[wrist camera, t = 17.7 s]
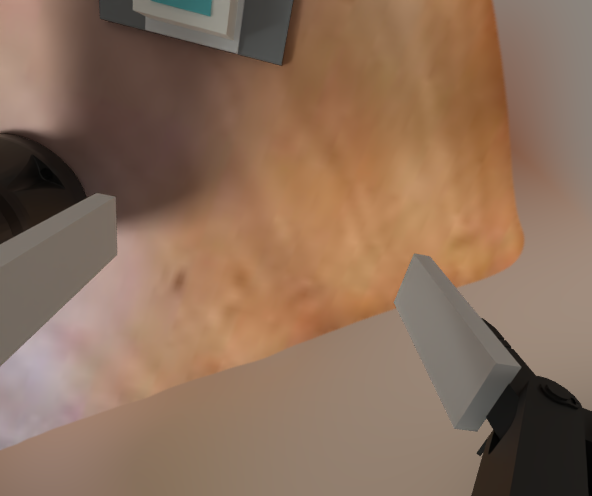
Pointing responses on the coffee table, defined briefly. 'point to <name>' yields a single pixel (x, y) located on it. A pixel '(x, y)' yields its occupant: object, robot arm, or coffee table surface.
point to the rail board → (254, 26)
